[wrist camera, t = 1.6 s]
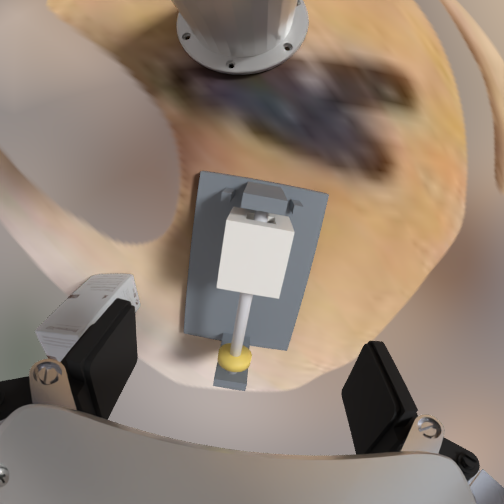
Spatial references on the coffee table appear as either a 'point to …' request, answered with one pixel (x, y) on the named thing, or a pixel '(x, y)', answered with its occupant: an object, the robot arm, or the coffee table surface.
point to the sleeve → (255, 253)
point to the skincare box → (84, 311)
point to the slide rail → (242, 304)
